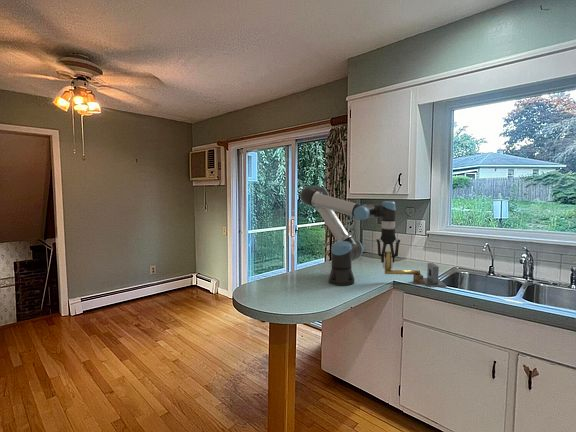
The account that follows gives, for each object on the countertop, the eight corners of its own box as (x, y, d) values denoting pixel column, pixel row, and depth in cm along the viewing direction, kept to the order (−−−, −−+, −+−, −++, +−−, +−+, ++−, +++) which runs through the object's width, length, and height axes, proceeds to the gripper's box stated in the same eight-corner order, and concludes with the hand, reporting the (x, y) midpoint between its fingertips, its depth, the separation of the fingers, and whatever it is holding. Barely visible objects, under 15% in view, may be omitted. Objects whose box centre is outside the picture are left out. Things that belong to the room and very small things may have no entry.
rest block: (415, 283, 181) (416, 275, 180) (413, 281, 186) (413, 273, 185) (423, 283, 180) (423, 276, 180) (420, 281, 185) (420, 273, 185)
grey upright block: (427, 286, 176) (428, 267, 175) (419, 279, 190) (420, 261, 189) (446, 286, 175) (446, 268, 174) (436, 279, 189) (437, 262, 188)
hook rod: (385, 274, 183) (385, 252, 182) (384, 273, 186) (384, 251, 185) (420, 275, 181) (420, 252, 180) (418, 273, 184) (419, 251, 183)
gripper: (374, 229, 179) (374, 269, 181) (404, 229, 177) (403, 269, 180) (372, 227, 186) (372, 266, 189) (401, 227, 185) (400, 266, 187)
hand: (387, 267), depth 184 cm, fingers closed on hook rod, 3 cm apart
